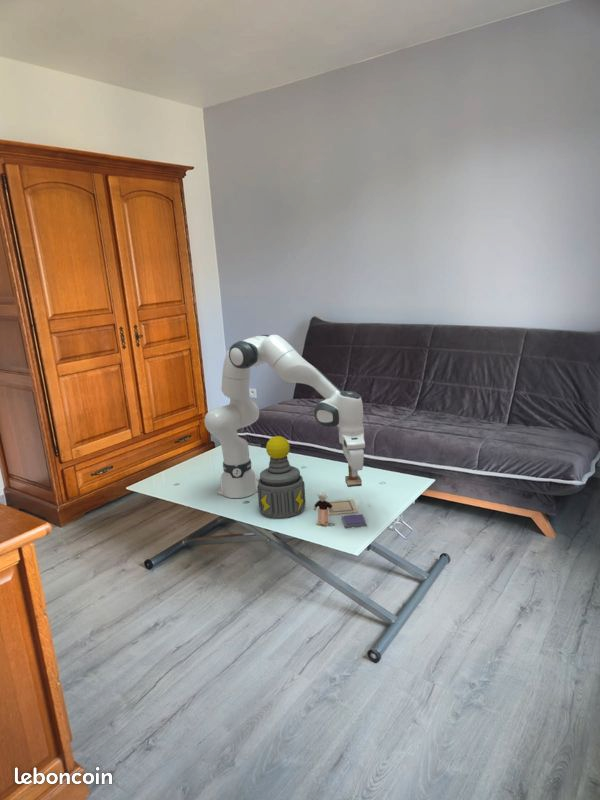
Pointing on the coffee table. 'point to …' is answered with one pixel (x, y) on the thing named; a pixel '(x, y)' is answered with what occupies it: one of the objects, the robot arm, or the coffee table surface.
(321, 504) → the grandmother figurine
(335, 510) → the card sheet
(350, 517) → the ink pad
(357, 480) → the stamp
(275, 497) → the grey toy tesla coil
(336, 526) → the coffee table surface
